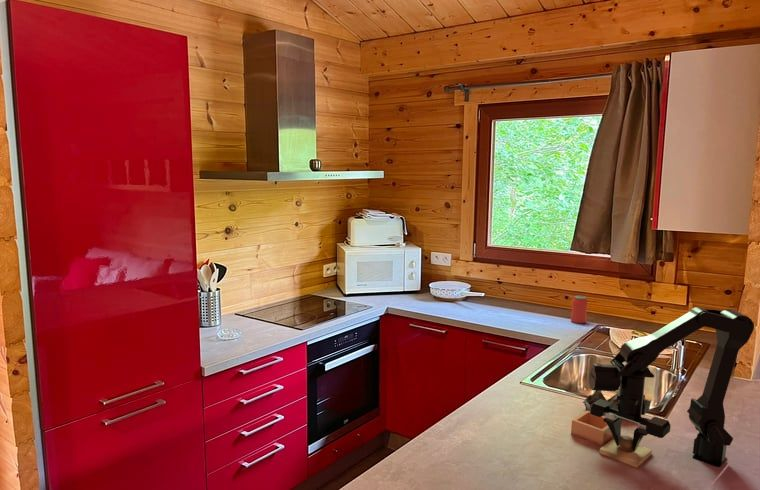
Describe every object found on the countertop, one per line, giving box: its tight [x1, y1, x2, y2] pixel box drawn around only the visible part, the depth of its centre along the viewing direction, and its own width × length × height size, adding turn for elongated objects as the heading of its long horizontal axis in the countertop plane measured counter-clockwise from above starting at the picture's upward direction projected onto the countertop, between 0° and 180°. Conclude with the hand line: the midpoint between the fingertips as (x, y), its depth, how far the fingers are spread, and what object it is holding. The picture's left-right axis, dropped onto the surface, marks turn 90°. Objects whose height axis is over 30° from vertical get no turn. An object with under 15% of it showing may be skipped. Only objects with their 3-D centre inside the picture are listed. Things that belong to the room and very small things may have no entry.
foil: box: [582, 388, 620, 416], centre depth 175 cm, size 12×11×15 cm
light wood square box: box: [570, 410, 613, 447], centre depth 162 cm, size 9×9×4 cm
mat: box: [598, 451, 653, 469], centre depth 152 cm, size 10×10×1 cm
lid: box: [599, 435, 653, 469], centre depth 152 cm, size 10×10×4 cm
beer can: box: [570, 294, 588, 325], centre depth 271 cm, size 7×7×12 cm
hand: (626, 448), depth 152 cm, fingers open, 4 cm apart
